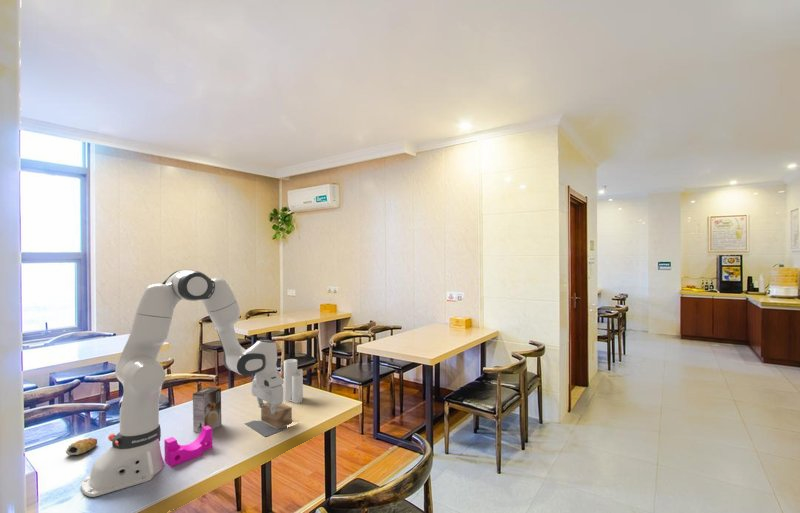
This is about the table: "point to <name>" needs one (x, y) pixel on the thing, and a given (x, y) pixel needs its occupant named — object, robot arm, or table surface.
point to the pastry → (81, 446)
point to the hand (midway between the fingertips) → (266, 410)
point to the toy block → (187, 447)
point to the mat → (264, 428)
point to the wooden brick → (277, 415)
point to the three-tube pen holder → (293, 381)
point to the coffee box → (206, 408)
